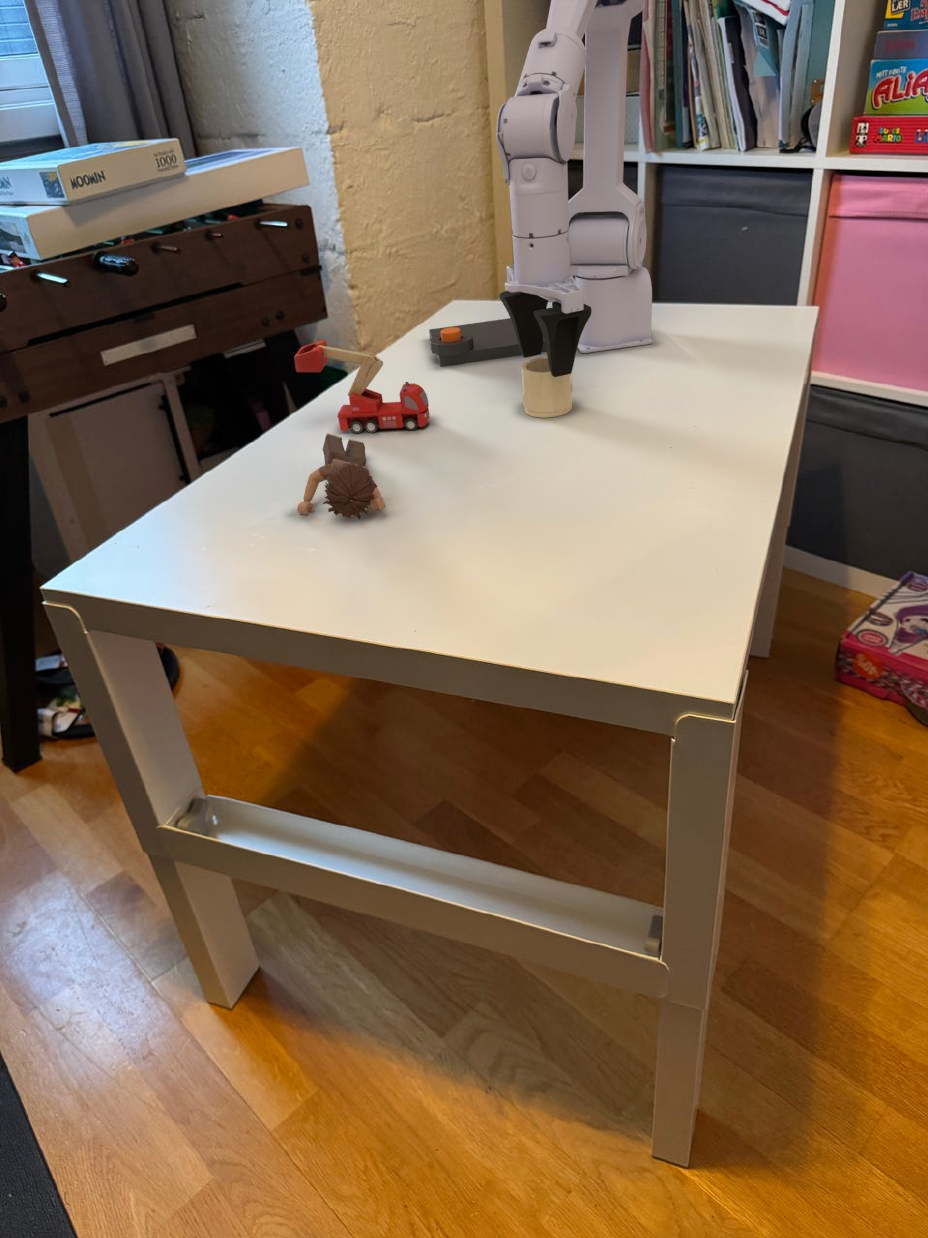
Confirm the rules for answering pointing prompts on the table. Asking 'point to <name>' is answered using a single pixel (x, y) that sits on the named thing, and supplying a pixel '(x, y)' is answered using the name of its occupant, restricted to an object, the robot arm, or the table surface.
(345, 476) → the figurine
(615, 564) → the table surface
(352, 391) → the toy fire truck
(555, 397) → the small cup
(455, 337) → the button
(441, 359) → the scale
